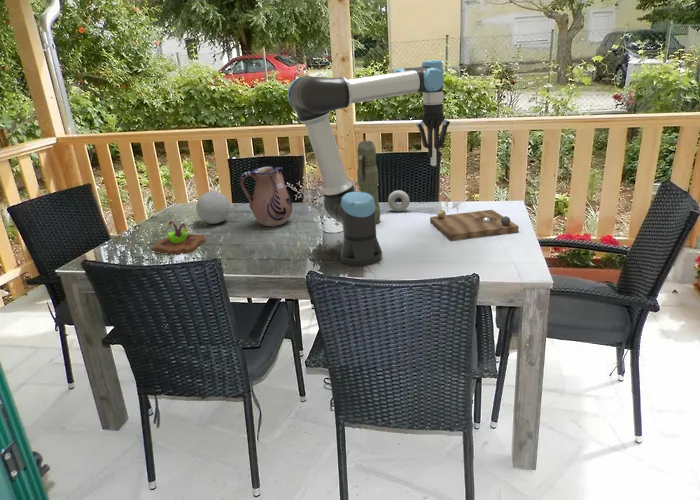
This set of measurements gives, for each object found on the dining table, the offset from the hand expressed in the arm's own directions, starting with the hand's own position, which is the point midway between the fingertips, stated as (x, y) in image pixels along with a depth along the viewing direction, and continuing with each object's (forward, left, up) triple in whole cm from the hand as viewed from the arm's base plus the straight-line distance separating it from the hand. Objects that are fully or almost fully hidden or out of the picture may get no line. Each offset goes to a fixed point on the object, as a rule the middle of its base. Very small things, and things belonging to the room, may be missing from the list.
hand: (433, 165), depth 205 cm
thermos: (-23, +18, -27) cm, 40 cm away
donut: (-7, +29, -27) cm, 40 cm away
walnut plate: (+15, -4, -26) cm, 31 cm away
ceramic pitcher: (-66, +32, -27) cm, 78 cm away
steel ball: (+21, -4, -25) cm, 33 cm away
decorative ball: (-91, +44, -27) cm, 105 cm away
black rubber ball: (+25, -13, -22) cm, 36 cm away
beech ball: (+5, +5, -22) cm, 23 cm away
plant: (-104, +17, -27) cm, 109 cm away
